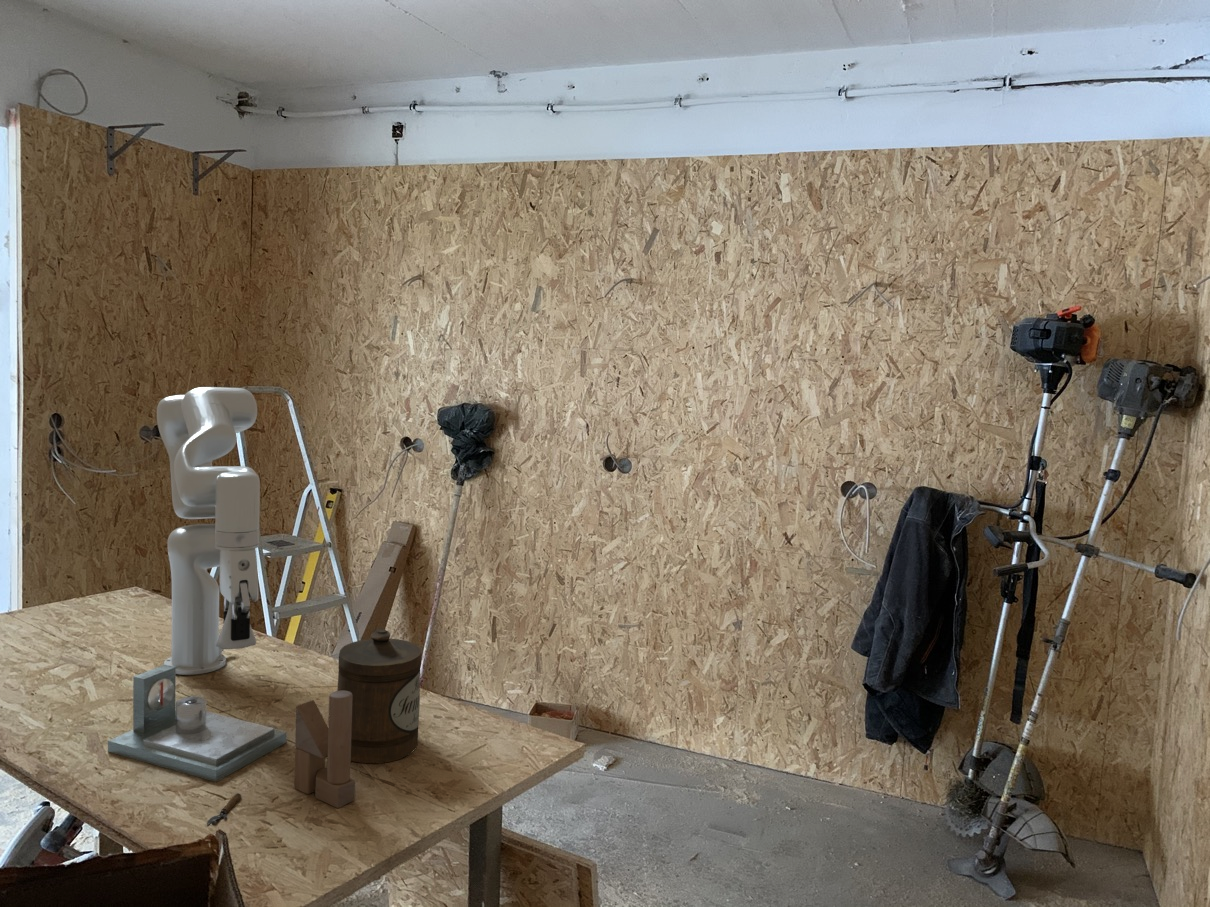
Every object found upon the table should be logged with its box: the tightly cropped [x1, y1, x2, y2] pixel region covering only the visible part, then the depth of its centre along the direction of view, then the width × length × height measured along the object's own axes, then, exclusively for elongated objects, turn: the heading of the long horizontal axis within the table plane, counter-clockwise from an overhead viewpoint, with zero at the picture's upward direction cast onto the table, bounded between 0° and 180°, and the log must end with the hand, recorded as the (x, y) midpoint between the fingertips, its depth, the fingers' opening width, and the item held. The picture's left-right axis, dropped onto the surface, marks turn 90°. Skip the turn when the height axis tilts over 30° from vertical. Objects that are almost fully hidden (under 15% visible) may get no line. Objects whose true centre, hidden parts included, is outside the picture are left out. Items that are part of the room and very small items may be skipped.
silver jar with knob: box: [175, 696, 207, 735], centre depth 160 cm, size 5×5×5 cm
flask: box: [216, 599, 257, 650], centre depth 166 cm, size 7×7×10 cm
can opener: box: [206, 793, 242, 827], centre depth 138 cm, size 9×2×1 cm, turn 172°
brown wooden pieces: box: [293, 690, 356, 809], centre depth 144 cm, size 4×11×18 cm, turn 57°
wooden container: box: [336, 628, 422, 764], centre depth 163 cm, size 15×15×22 cm
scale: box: [107, 665, 288, 783], centre depth 159 cm, size 17×24×12 cm
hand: (236, 634), depth 166 cm, fingers closed on flask, 4 cm apart
